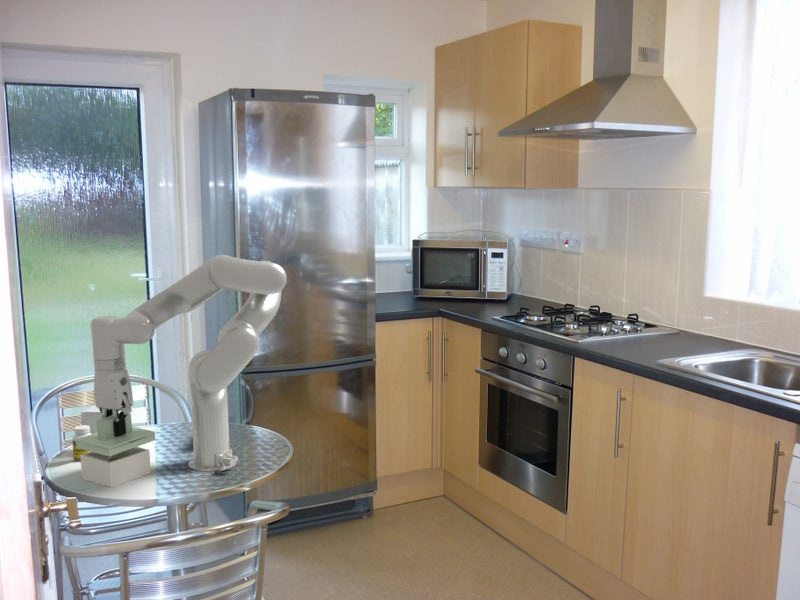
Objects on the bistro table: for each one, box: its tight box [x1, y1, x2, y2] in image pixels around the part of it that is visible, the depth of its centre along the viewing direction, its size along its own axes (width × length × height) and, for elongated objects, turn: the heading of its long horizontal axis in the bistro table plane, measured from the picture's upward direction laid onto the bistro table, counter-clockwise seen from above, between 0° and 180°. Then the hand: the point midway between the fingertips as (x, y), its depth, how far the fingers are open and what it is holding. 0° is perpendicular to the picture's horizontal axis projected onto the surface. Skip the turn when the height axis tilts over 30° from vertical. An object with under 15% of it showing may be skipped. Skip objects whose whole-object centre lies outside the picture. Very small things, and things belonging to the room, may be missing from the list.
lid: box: [75, 412, 156, 456], centre depth 196 cm, size 14×14×7 cm
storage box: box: [80, 446, 151, 488], centre depth 197 cm, size 12×12×7 cm
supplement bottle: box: [71, 424, 91, 463], centre depth 211 cm, size 5×5×10 cm
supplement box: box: [80, 405, 102, 434], centre depth 220 cm, size 7×7×13 cm
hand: (115, 433), depth 196 cm, fingers closed on lid, 3 cm apart
